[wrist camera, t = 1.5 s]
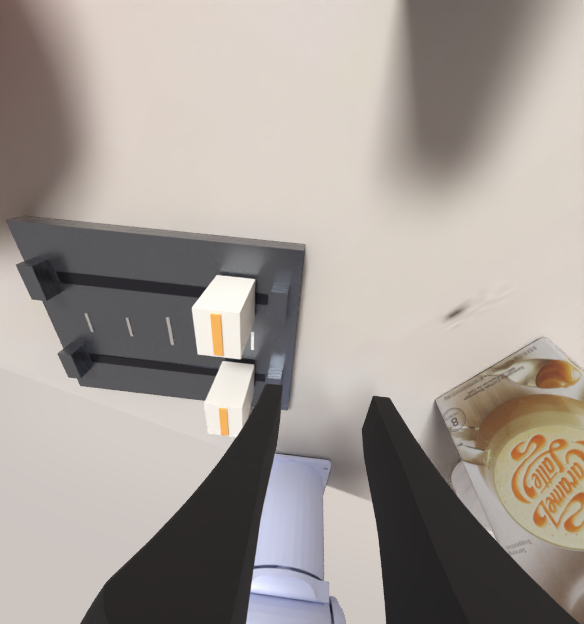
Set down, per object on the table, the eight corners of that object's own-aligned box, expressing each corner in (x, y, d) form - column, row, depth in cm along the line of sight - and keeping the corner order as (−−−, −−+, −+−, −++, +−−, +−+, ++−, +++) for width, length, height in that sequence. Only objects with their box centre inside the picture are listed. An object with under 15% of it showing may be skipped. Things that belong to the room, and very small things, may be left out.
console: (288, 399, 25) (286, 422, 23) (90, 376, 25) (69, 396, 23) (305, 244, 17) (303, 258, 15) (24, 215, 18) (-15, 225, 16)
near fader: (254, 319, 19) (240, 360, 15) (219, 316, 19) (196, 355, 15) (255, 279, 17) (239, 314, 14) (216, 275, 17) (190, 308, 14)
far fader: (254, 392, 22) (242, 439, 19) (224, 389, 22) (207, 434, 19) (254, 364, 21) (241, 409, 17) (222, 360, 21) (203, 405, 17)
